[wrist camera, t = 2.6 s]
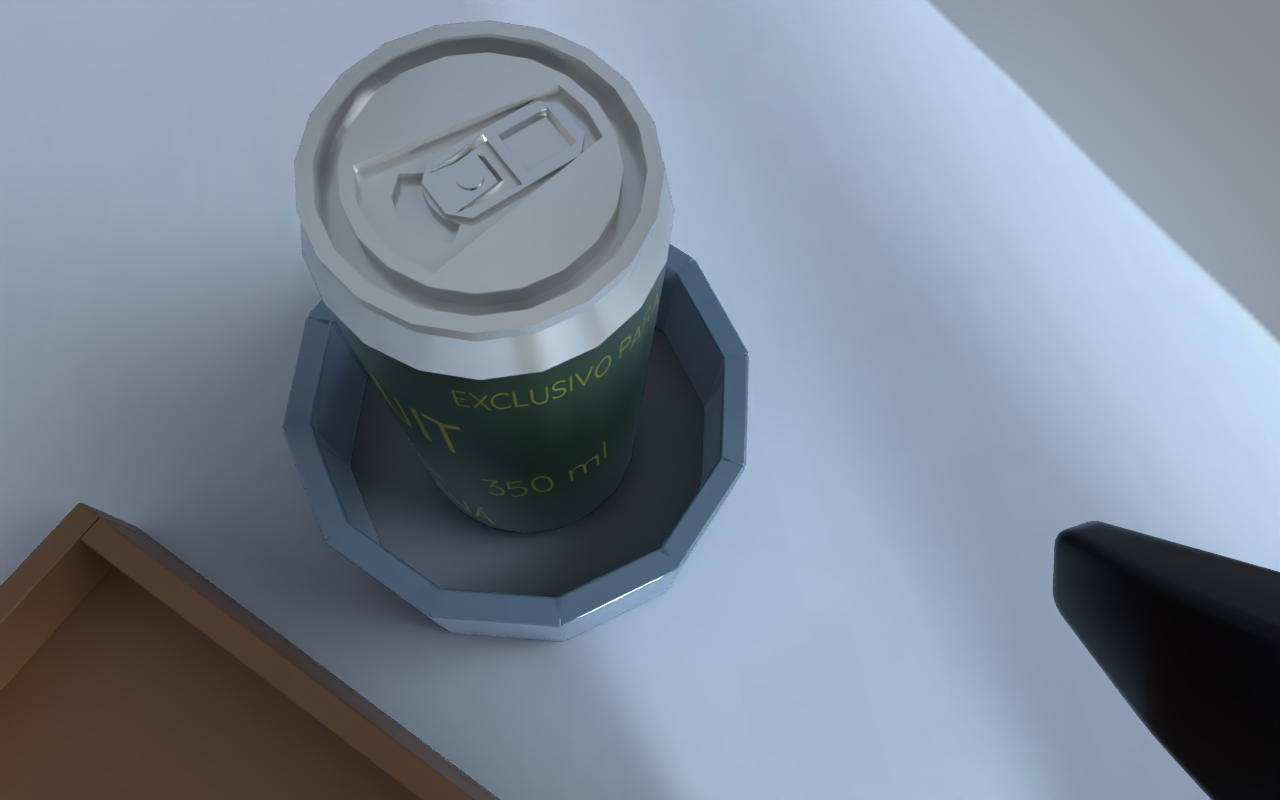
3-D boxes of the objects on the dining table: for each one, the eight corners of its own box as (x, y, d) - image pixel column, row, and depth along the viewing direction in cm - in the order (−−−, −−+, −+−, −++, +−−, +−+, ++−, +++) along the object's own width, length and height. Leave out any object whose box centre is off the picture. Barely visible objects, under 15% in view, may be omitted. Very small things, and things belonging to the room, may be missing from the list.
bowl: (795, 392, 24) (828, 340, 21) (578, 725, 21) (577, 725, 17) (493, 202, 25) (480, 125, 22) (247, 485, 22) (188, 443, 19)
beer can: (557, 307, 24) (534, -48, 13) (675, 459, 23) (762, 209, 12) (388, 414, 23) (200, 121, 12) (503, 582, 22) (416, 432, 10)
